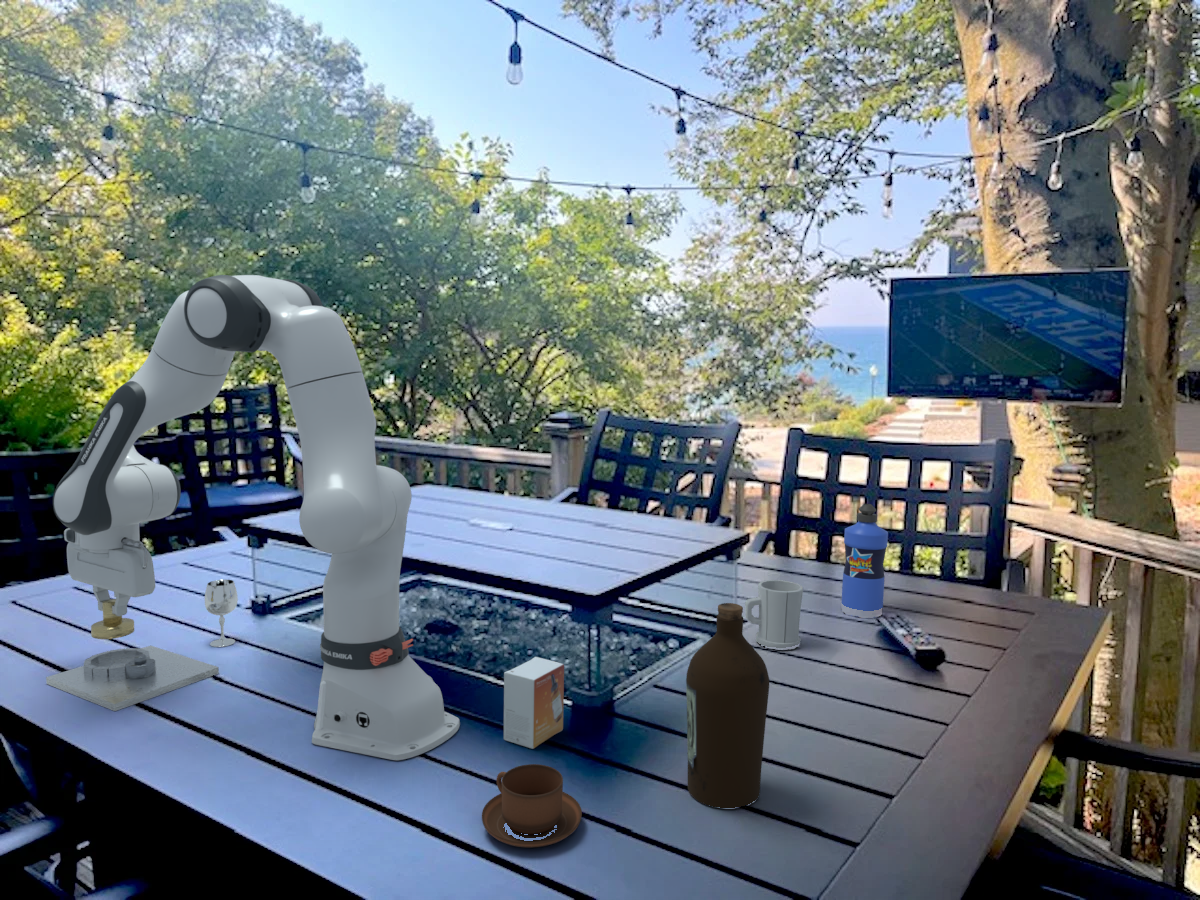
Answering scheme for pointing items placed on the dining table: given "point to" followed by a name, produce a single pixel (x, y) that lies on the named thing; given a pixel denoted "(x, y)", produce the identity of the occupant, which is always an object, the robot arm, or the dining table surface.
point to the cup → (776, 613)
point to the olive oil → (726, 715)
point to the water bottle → (864, 562)
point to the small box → (533, 702)
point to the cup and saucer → (531, 807)
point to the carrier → (130, 676)
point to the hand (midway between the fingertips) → (112, 612)
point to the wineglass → (221, 605)
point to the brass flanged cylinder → (111, 624)
